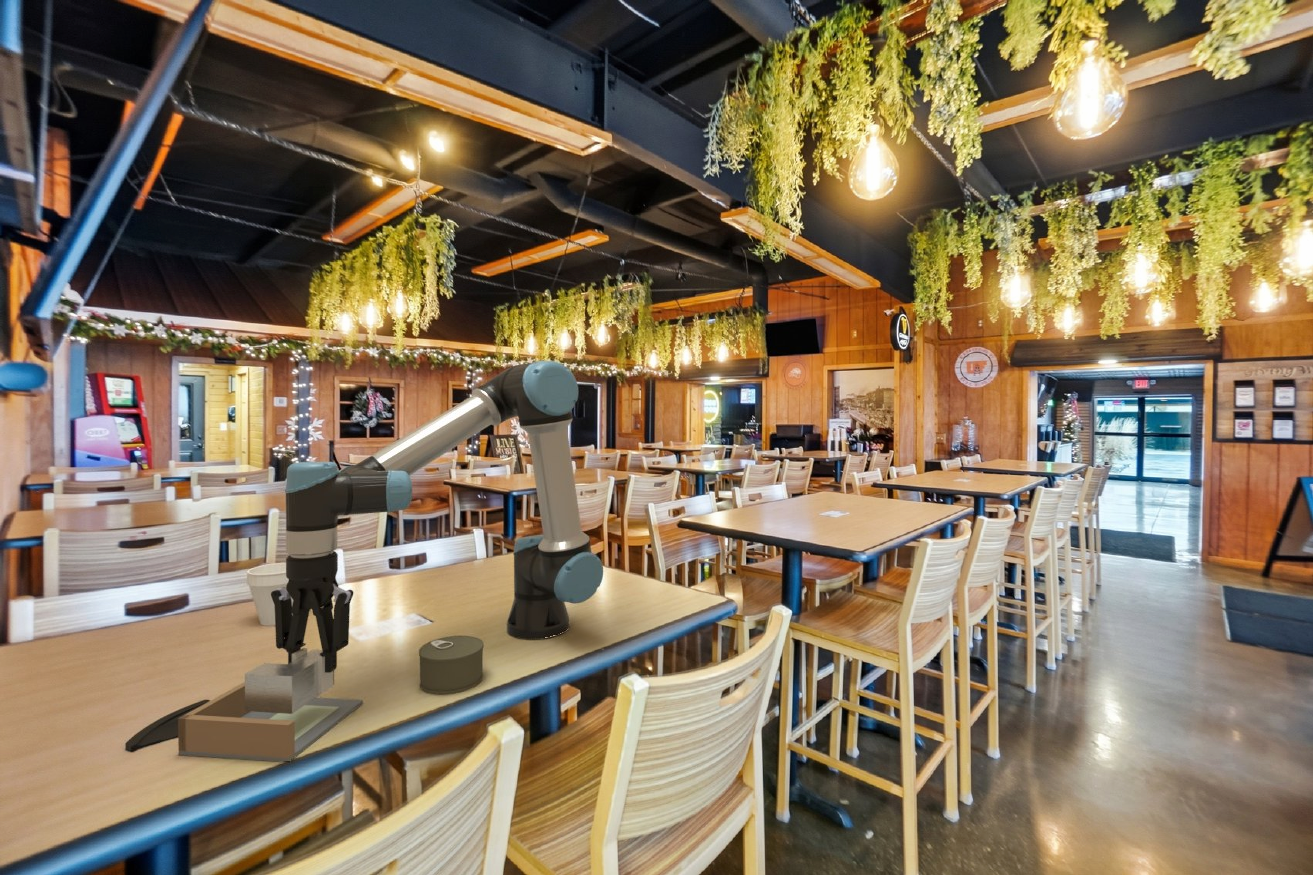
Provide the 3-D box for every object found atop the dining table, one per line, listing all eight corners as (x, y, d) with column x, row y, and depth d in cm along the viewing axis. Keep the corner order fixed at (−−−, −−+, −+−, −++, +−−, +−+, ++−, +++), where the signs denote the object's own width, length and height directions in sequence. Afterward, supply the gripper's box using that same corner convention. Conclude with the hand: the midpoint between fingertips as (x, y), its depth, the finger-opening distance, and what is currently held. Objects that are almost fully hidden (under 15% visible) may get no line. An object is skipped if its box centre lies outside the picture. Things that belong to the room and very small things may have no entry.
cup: (235, 625, 141) (235, 571, 141) (284, 610, 153) (283, 560, 153) (268, 632, 137) (268, 576, 137) (316, 616, 148) (315, 564, 148)
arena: (362, 703, 102) (362, 672, 102) (288, 762, 84) (288, 725, 84) (270, 698, 104) (270, 668, 104) (178, 755, 86) (178, 718, 86)
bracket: (292, 714, 89) (291, 676, 89) (245, 711, 90) (244, 673, 90) (334, 684, 99) (334, 650, 99) (291, 682, 100) (291, 648, 100)
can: (446, 701, 103) (446, 664, 103) (405, 686, 109) (405, 650, 109) (496, 676, 114) (496, 642, 113) (456, 663, 120) (456, 631, 120)
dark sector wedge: (108, 747, 89) (108, 736, 89) (205, 707, 102) (205, 698, 102) (138, 759, 86) (137, 748, 86) (234, 716, 98) (234, 707, 98)
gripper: (373, 549, 99) (373, 682, 100) (282, 546, 101) (282, 677, 101) (345, 559, 92) (345, 703, 92) (247, 556, 93) (248, 697, 94)
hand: (312, 689), depth 97 cm, fingers closed on bracket, 4 cm apart
